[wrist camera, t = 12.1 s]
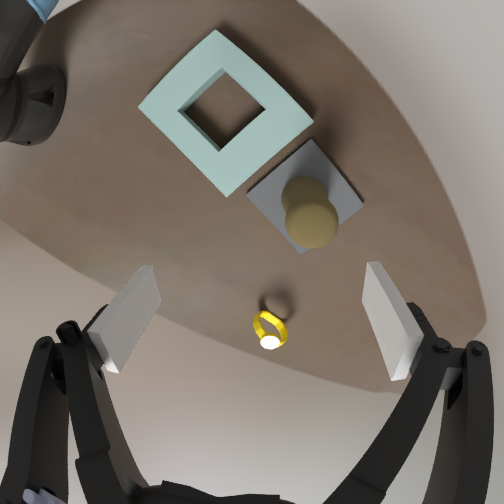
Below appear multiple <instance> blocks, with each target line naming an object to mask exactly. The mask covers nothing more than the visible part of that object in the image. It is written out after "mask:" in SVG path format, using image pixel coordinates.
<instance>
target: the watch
mask: <svg viewBox="0 0 504 504" xmlns="http://www.w3.org/2000/svg"><path fill="white" fill-rule="evenodd" d="M260 317H263V318H265V319H266V320H268V321H269V322H271V323H272V324H274V325H275V326H276V328H277V329H278V330H279V332H280V335H281V340H280V338H279V336H278V335H277V334H274V333H267V332H266V331H265V329H264V328H263V327H262V324H261V322H260ZM253 327H254V329H255V332H256V334H257V335H258V336H259V337H260V338H261V345H262V346H263V347H264V348H266V349H274V348H276V347H279V346H280V345H282V344H283V343H284V342H285V341H287V339H288V331H287V329H286V326H285V325H284V323H283V322H282V321H281V319H278V318H277V317H276V316H274V315H273V314H271V313H270V312H268V311H261V312H260V313H258V314H257V315H256V316H255V317H254V319H253Z"/></svg>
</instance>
